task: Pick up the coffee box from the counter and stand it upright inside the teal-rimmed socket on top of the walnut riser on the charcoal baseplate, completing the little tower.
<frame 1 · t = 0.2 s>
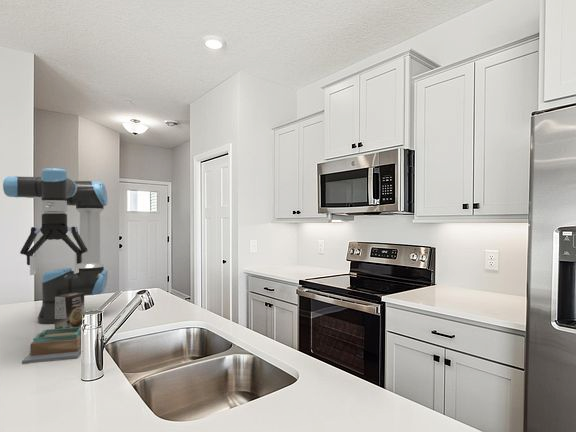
hand: (54, 273, 128), 28 cm above the worktop, tool pointing down, fingers open, 13 cm apart
riser: (59, 340, 130), on the baseplate, point 4 cm above the worktop
coffee box: (70, 334, 149), on the worktop
baseplate: (59, 350, 130), on the worktop
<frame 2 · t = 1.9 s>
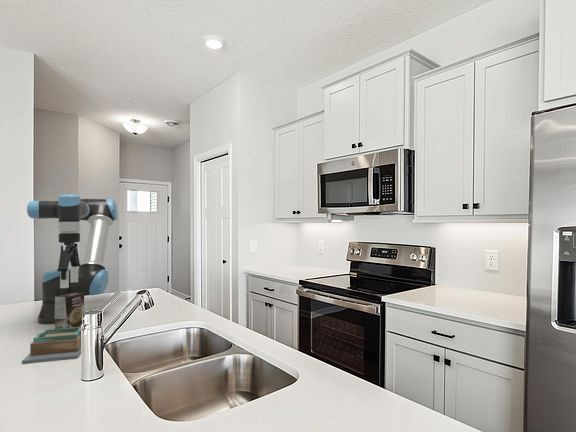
hand: (69, 285, 149), 20 cm above the worktop, tool pointing down, fingers open, 13 cm apart
nothing on the worktop moved.
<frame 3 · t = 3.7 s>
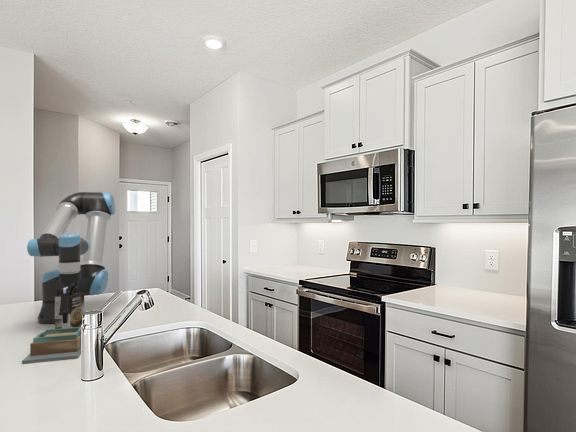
hand: (70, 326, 149), 3 cm above the worktop, tool pointing down, fingers closed on coffee box, 10 cm apart
coffee box: (70, 334, 149), on the worktop, touching gripper
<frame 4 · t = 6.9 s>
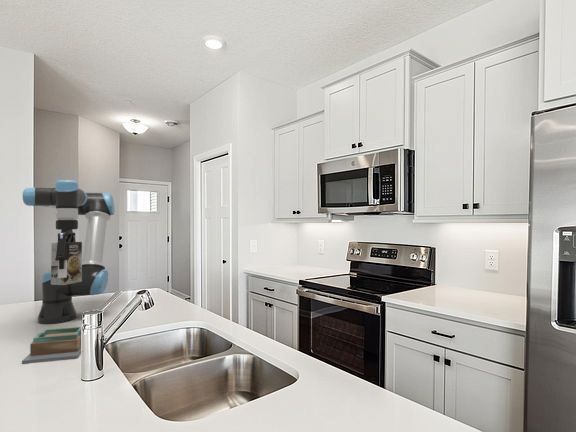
hand: (66, 275, 144), 24 cm above the worktop, tool pointing down, fingers closed on coffee box, 10 cm apart
coffee box: (66, 283, 144), point 21 cm above the worktop, touching gripper
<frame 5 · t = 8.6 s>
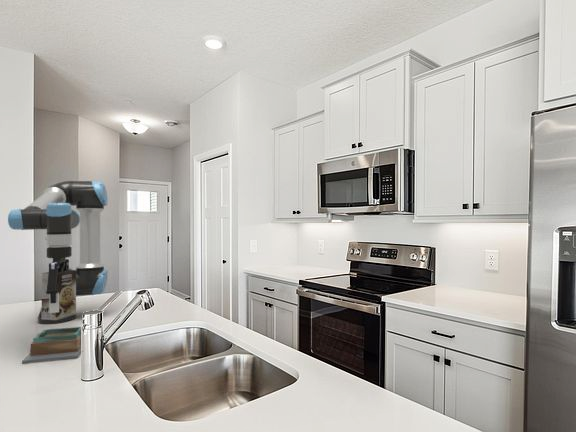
hand: (59, 308, 130), 15 cm above the worktop, tool pointing down, fingers closed on coffee box, 10 cm apart
coffee box: (59, 317, 130), point 12 cm above the worktop, touching gripper
when the fingers open (10 cm above the worktop, at t = 10.2 s): coffee box stays where it is, resting on riser.
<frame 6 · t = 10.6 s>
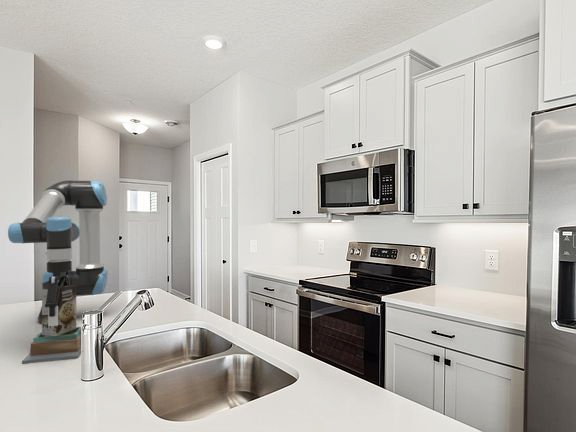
hand: (59, 320, 130), 11 cm above the worktop, tool pointing down, fingers open, 13 cm apart
coffee box: (59, 332, 130), point 6 cm above the worktop, touching riser
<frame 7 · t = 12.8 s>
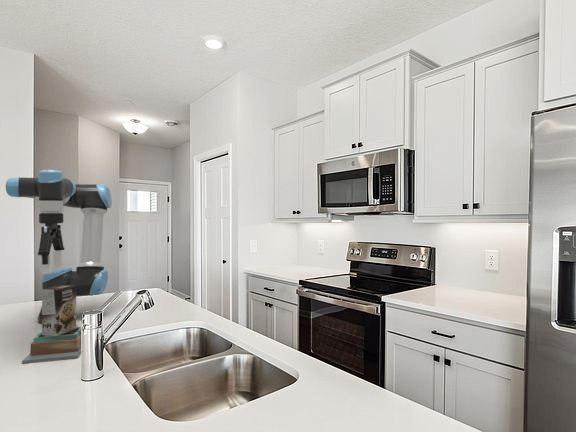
hand: (52, 270, 134), 28 cm above the worktop, tool pointing down, fingers open, 13 cm apart
nothing on the worktop moved.
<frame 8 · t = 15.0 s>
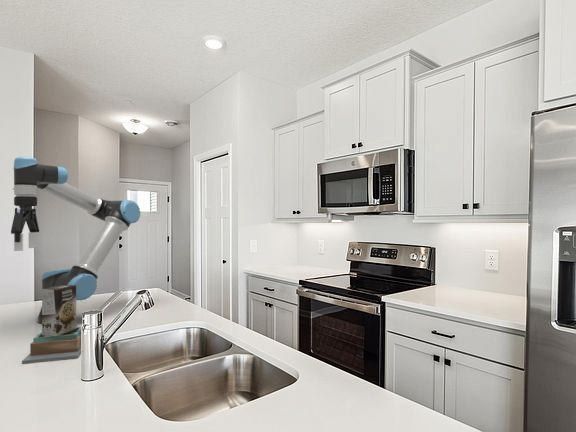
hand: (26, 249, 146), 35 cm above the worktop, tool pointing down, fingers open, 13 cm apart
nothing on the worktop moved.
at the end: coffee box 0.2 cm from the target spot, point 6.3 cm above the worktop; coffee box tilted 0°; the gripper is holding nothing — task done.
